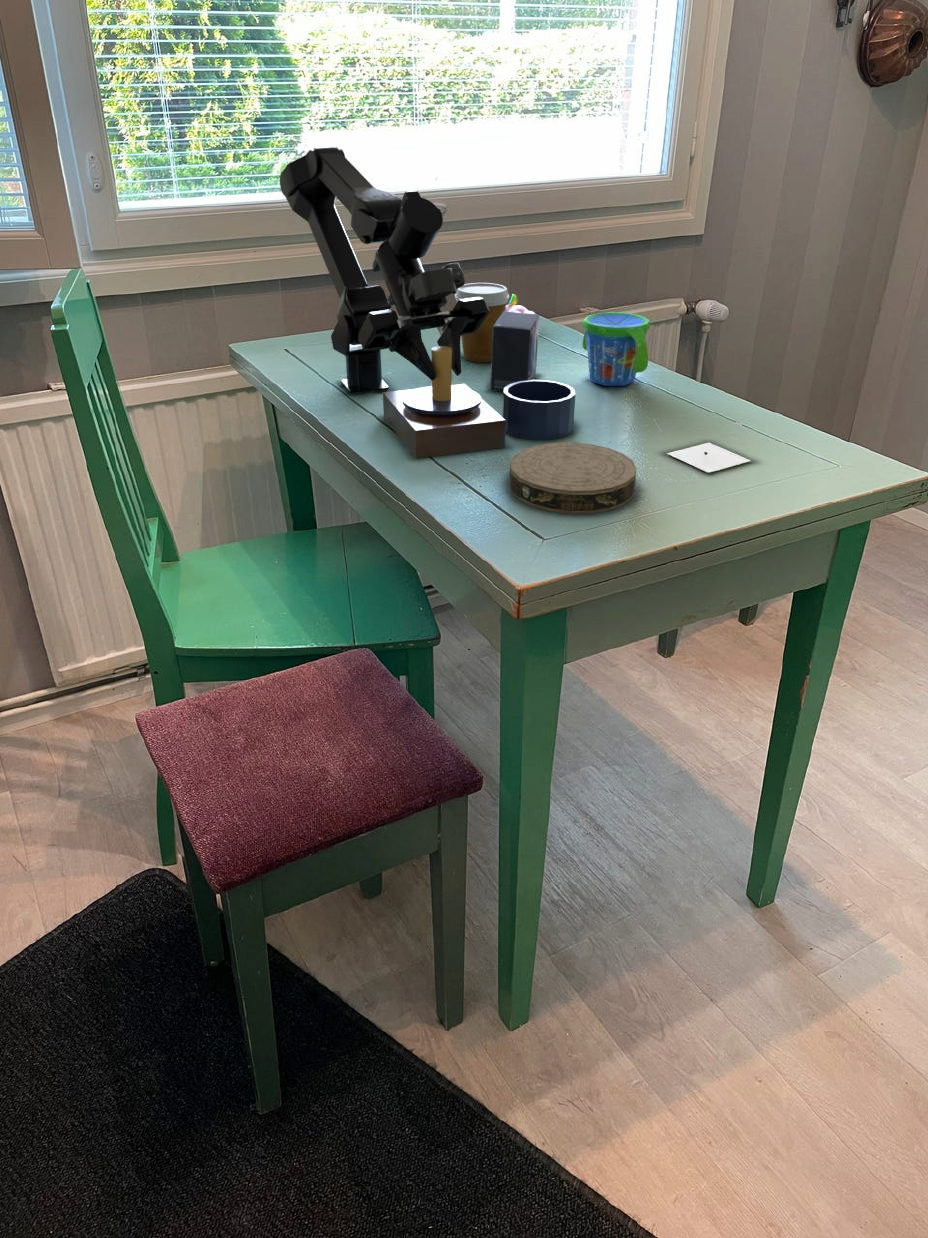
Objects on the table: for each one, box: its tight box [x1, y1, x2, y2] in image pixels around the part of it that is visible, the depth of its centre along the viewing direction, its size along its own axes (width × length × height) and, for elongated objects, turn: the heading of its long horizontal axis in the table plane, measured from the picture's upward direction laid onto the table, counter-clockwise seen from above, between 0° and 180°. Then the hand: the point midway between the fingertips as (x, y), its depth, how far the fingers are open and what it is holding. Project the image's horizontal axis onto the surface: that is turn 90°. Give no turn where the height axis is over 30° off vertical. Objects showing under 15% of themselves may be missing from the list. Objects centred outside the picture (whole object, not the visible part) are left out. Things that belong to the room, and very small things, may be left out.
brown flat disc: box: [508, 441, 637, 515], centre depth 119 cm, size 16×16×3 cm
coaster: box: [666, 442, 752, 473], centre depth 128 cm, size 8×8×1 cm
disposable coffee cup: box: [454, 282, 510, 363], centre depth 166 cm, size 10×10×12 cm
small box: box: [489, 311, 540, 392], centre depth 153 cm, size 11×6×10 cm, turn 168°
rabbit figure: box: [505, 293, 536, 314], centre depth 187 cm, size 6×6×15 cm
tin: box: [502, 379, 576, 441], centre depth 137 cm, size 10×10×6 cm
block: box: [382, 383, 506, 459], centre depth 135 cm, size 17×13×4 cm
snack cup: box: [582, 311, 651, 387], centre depth 154 cm, size 16×10×10 cm
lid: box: [402, 345, 482, 415], centre depth 132 cm, size 11×11×8 cm
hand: (446, 376), depth 131 cm, fingers open, 4 cm apart
